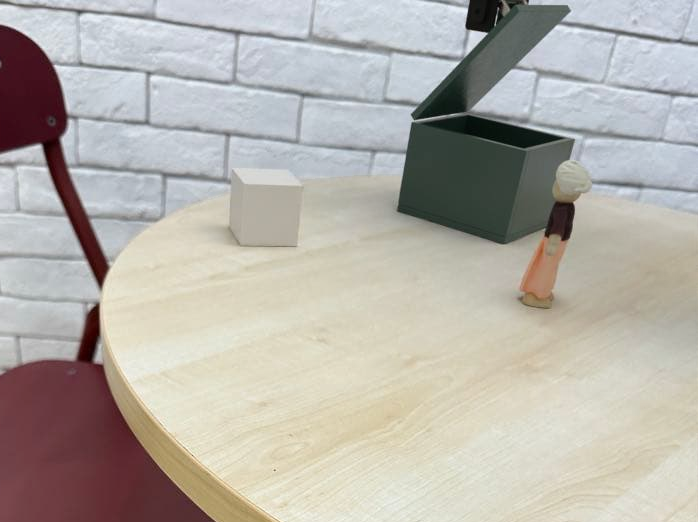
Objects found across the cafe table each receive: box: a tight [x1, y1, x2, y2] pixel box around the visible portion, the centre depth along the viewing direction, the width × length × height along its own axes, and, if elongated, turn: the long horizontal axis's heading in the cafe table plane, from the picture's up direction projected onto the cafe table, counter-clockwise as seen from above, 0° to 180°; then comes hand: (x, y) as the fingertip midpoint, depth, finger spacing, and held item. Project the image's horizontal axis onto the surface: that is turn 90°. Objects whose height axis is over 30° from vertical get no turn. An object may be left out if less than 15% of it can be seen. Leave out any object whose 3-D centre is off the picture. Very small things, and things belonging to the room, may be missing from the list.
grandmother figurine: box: [518, 159, 593, 309], centre depth 78 cm, size 8×4×13 cm, turn 168°
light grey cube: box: [228, 167, 304, 247], centre depth 87 cm, size 6×6×6 cm
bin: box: [396, 112, 576, 245], centre depth 100 cm, size 15×13×10 cm
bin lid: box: [410, 0, 572, 121], centre depth 94 cm, size 16×13×5 cm
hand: (494, 28), depth 92 cm, fingers closed on bin lid, 6 cm apart
